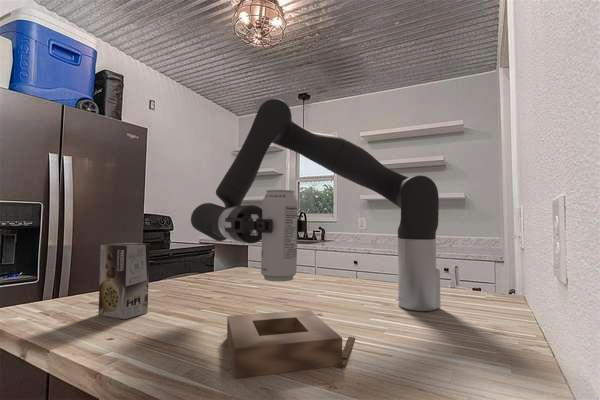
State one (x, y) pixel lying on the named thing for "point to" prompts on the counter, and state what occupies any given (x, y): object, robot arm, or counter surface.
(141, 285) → the coffee box
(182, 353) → the counter surface
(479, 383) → the counter surface
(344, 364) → the brown wooden stick
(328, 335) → the socket block
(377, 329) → the counter surface
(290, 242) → the energy drink can
